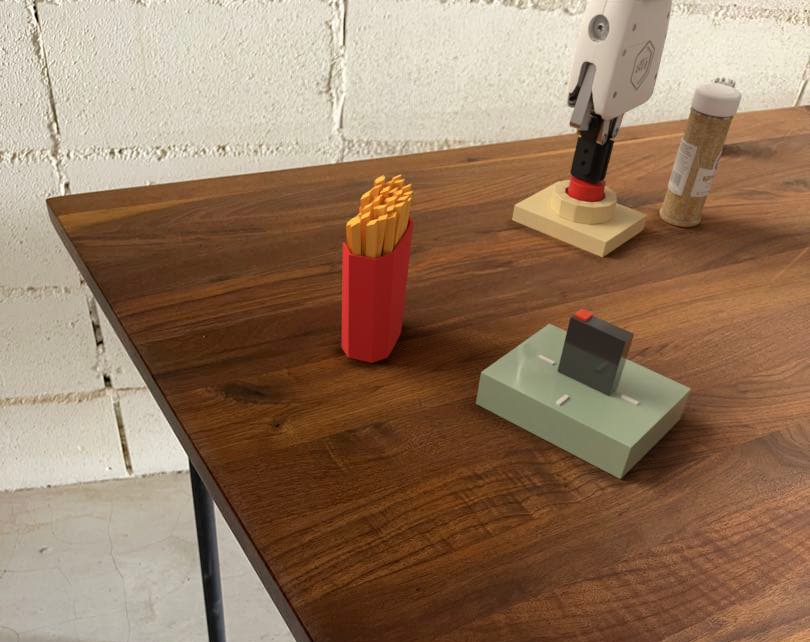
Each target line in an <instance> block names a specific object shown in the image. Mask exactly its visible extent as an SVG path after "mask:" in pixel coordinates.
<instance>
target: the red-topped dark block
mask: <svg viewBox="0 0 810 642" xmlns="http://www.w3.org/2000/svg"><path fill="white" fill-rule="evenodd" d="M566 331H567V334H566V338H565V342H564V346H563V350H562V354H561V358H560V362H559V366H558V370H557V371H558V372H560V373H562V374H565V375H567V376H569V377H571V378H573V379H575V380H577V381H579V382H581V383H583V384H586V385H588V386H590V387H592V388H594V389H596V390H598V391H600V392H602V393H604V394H606V395H610V394H611V393H613V392H614V391H615V390H616V389H617V388H618V385H619V382H620V378H621V375H622V372H623V369H624V365H625V362H626V359H628V355H629V353H630V349H631V346H632V343H633V339H634V336H635V334H634V333H633V332H631V331H629V330H627V329H624V328H622V327H620V326H617V325H616V324H613V323H610V322H608V321H606V320H604V319H601V318H599V317H597V316H595V315H594V313H593V312H591V311H588V310H586V309H585V308H580V309H578V310H577V311H576V312H575V313H574V314H572V315H571V316H570V318H569V322H568V326H567V330H566Z"/></svg>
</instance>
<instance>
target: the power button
mask: <svg viewBox="0 0 810 642" xmlns="http://www.w3.org/2000/svg"><path fill="white" fill-rule="evenodd" d="M569 180H570V184H569V188H568V193H567V194H568V195H569V196H570V197H571V198H574V199H576V200H579V201H586V202H600V201H601V200H602V197H603V193H604V189H605V186H606V184H607V182H606V180H605V179H604V180H602V181H599V182H598V183H597V184H592V183H589V182H587V181H584V180H582V179H579V178H576V177H574V176H572V175H571V176H570V179H569Z"/></svg>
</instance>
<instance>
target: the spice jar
mask: <svg viewBox="0 0 810 642" xmlns="http://www.w3.org/2000/svg"><path fill="white" fill-rule="evenodd" d="M691 98H692V99H691V102H690V106H691V107H690V113H689V115H688V118H687V122H686V125H685V129H684V132H683V135H682V136H681V139H680V142H679V146H678V149H677V153H676V157H675V160H674V163H673V167H672V170H671V174H670V177H669V180H668V184H667V190H666V193H665V196H664V200H663V203H662V206H661V208H660V209H659V212H658V213H659V217H660V218H661V219H662V220H663V221H664V222H665V223H666V224H668V225H672V226H675V227H679V228H692V227H696V226H697V225H699V224H700V222H701V219H702V213H703V210H704V207H705V203H706V202H707V198H708V195H709V193H710V191H711V187H712V184H713V181H714V178H715V176H716V172H717V169H718V166H719V162H720V159H721V156H722V154H723V149H724V146H725V143H726V140H727V136H728V133H729V130H730V127H731V125H732V121H733V119H734V117H735V115H736V114H737V112H738V109H739V106H740V103H741V101H742V93H741V92H740V90H738V89H737V88H736V87H735V88H733V87H730V86H727V85H723V84H718V83H714V82H703V83H699V84H698V85H697V86H696V87H695V89H694V92H693V96H692V97H691Z"/></svg>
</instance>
